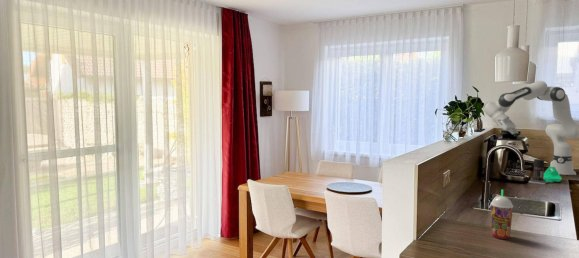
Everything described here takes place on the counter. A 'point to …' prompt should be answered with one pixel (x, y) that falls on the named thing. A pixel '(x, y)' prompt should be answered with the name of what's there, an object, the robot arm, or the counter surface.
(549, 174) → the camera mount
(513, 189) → the counter surface
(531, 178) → the mount plate
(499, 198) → the smoothie
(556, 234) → the counter surface
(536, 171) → the deodorant
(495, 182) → the counter surface
